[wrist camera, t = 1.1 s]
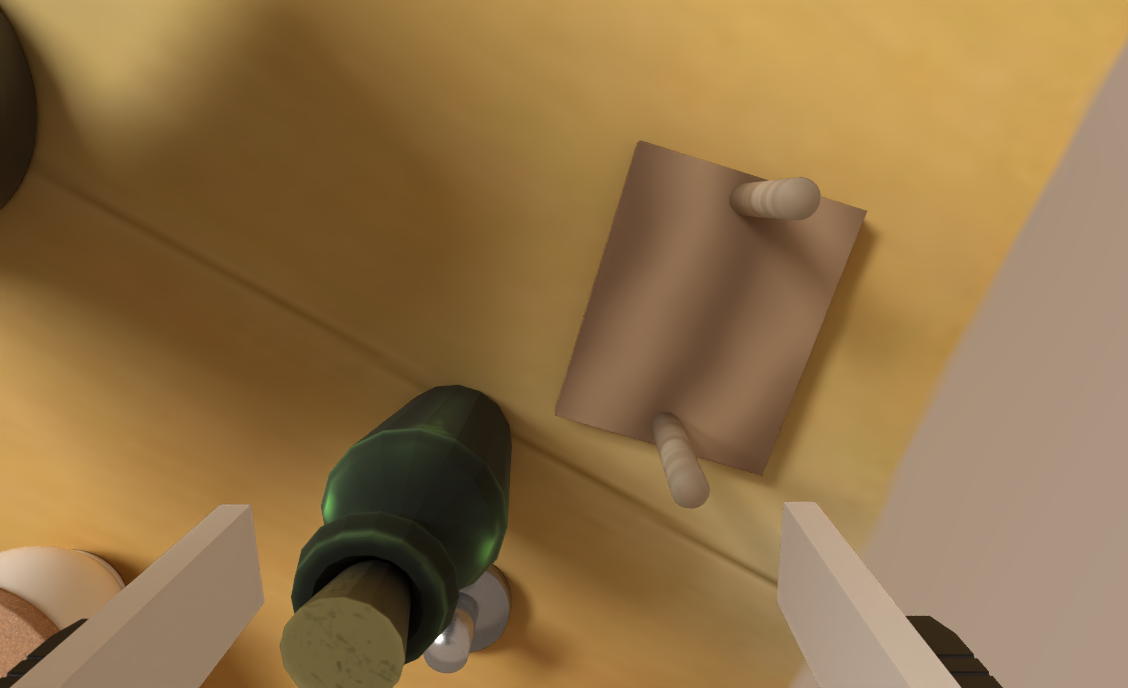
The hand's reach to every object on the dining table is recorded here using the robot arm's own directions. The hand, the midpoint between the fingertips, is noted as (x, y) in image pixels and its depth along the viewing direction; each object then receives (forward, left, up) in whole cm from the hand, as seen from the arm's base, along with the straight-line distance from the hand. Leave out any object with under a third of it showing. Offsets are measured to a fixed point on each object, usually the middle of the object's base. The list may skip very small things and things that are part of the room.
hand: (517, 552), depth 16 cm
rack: (+7, +5, -20) cm, 22 cm away
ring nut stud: (-1, -16, -20) cm, 26 cm away
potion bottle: (-4, -6, -21) cm, 22 cm away
